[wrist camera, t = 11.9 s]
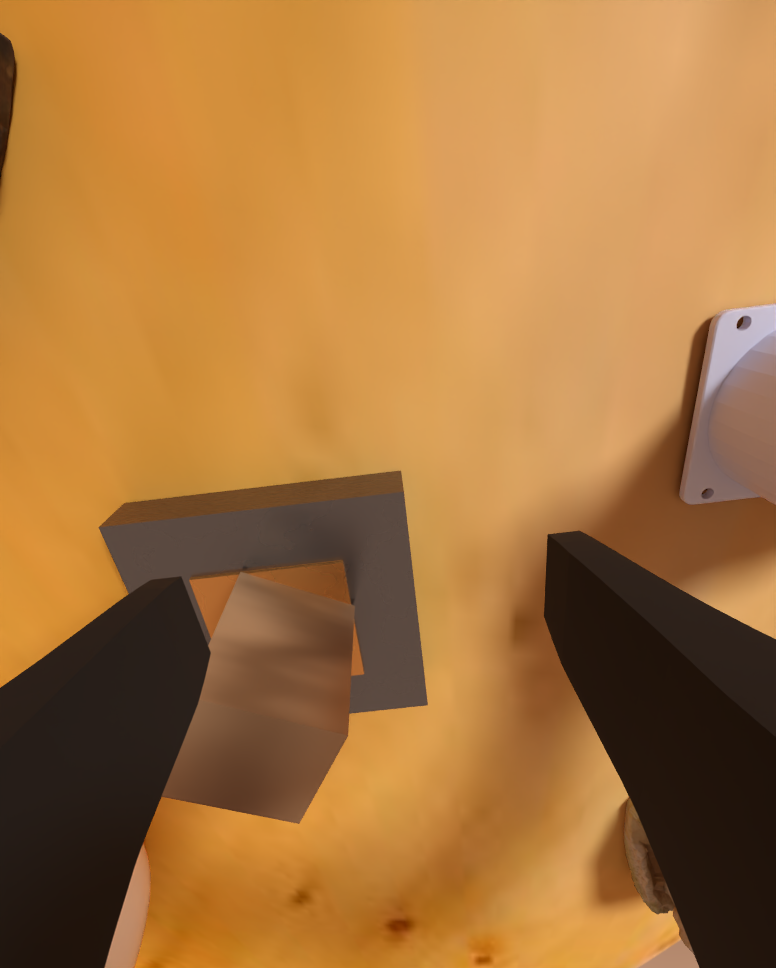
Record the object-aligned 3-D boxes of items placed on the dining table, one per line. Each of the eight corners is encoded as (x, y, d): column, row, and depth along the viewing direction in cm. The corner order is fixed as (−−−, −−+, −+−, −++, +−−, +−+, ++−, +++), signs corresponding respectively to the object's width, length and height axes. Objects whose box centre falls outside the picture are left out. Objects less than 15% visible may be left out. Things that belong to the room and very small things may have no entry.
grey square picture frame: (400, 470, 19) (404, 494, 17) (423, 672, 24) (428, 708, 22) (123, 503, 20) (95, 529, 18) (204, 696, 25) (189, 733, 23)
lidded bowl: (135, 890, 33) (33, 1158, 23) (-50, 837, 30) (-265, 1126, 20) (216, 804, 29) (135, 1086, 19) (12, 731, 25) (-219, 1029, 15)
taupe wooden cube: (355, 605, 20) (348, 735, 14) (317, 683, 21) (299, 823, 16) (240, 571, 19) (186, 696, 13) (212, 656, 21) (155, 795, 15)
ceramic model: (638, 751, 28) (763, 979, 19) (817, 741, 28) (1025, 963, 19) (602, 871, 34) (685, 1088, 25) (749, 862, 34) (883, 1074, 25)
